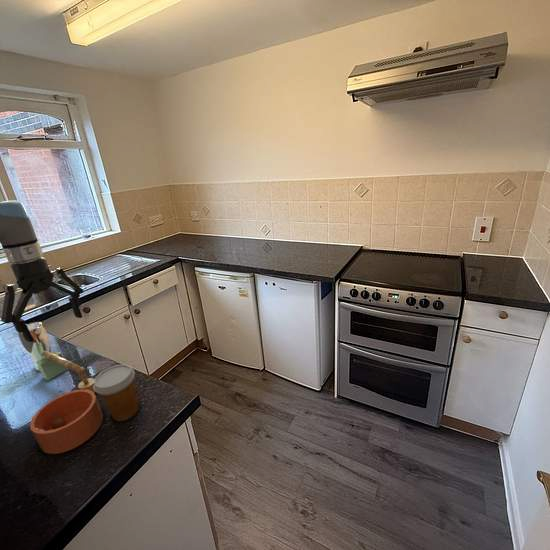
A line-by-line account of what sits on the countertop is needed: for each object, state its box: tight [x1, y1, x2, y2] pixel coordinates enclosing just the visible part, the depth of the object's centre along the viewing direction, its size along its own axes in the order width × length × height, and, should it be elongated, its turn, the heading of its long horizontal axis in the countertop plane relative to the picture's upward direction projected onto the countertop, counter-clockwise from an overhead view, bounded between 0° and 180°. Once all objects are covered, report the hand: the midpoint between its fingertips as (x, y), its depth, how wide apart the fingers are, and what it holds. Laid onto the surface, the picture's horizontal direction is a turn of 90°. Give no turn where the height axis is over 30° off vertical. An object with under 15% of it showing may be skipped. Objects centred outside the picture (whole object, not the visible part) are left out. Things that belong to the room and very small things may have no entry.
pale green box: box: [36, 350, 68, 382], centre depth 96 cm, size 3×6×6 cm, turn 151°
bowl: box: [29, 389, 104, 455], centre depth 74 cm, size 14×14×6 cm
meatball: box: [52, 418, 66, 430], centre depth 74 cm, size 3×3×3 cm
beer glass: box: [16, 321, 53, 371], centre depth 100 cm, size 7×7×15 cm
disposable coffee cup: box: [93, 364, 140, 422], centre depth 77 cm, size 10×10×12 cm
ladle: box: [42, 351, 96, 394], centre depth 91 cm, size 24×4×8 cm, turn 61°
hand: (55, 328), depth 88 cm, fingers open, 13 cm apart
